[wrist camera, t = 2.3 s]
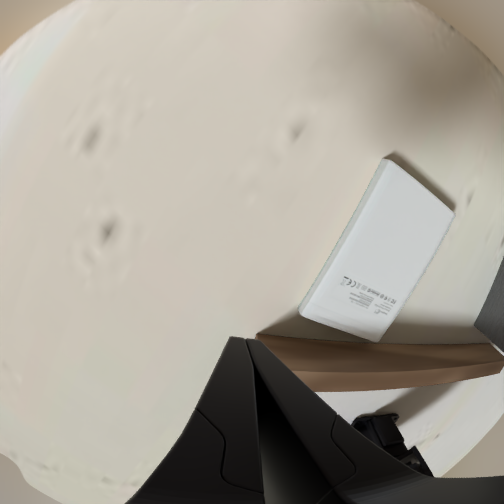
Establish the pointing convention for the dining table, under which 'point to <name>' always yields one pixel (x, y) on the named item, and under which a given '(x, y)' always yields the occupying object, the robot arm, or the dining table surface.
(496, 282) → the bookend
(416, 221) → the external hard drive
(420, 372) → the rail
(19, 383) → the dining table surface
